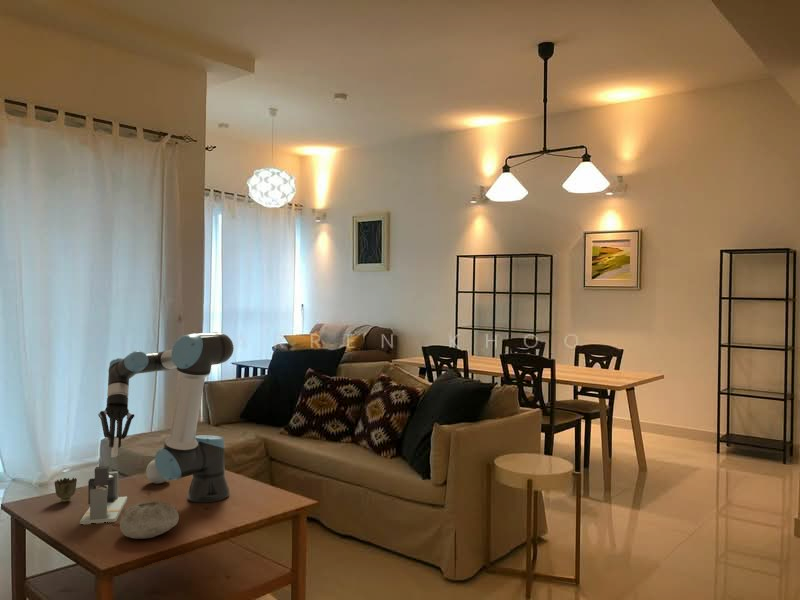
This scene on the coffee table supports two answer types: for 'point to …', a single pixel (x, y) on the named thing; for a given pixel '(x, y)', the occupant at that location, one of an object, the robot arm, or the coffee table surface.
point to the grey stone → (148, 519)
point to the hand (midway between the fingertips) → (114, 455)
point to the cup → (65, 489)
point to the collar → (103, 483)
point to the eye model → (153, 473)
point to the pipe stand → (103, 504)
